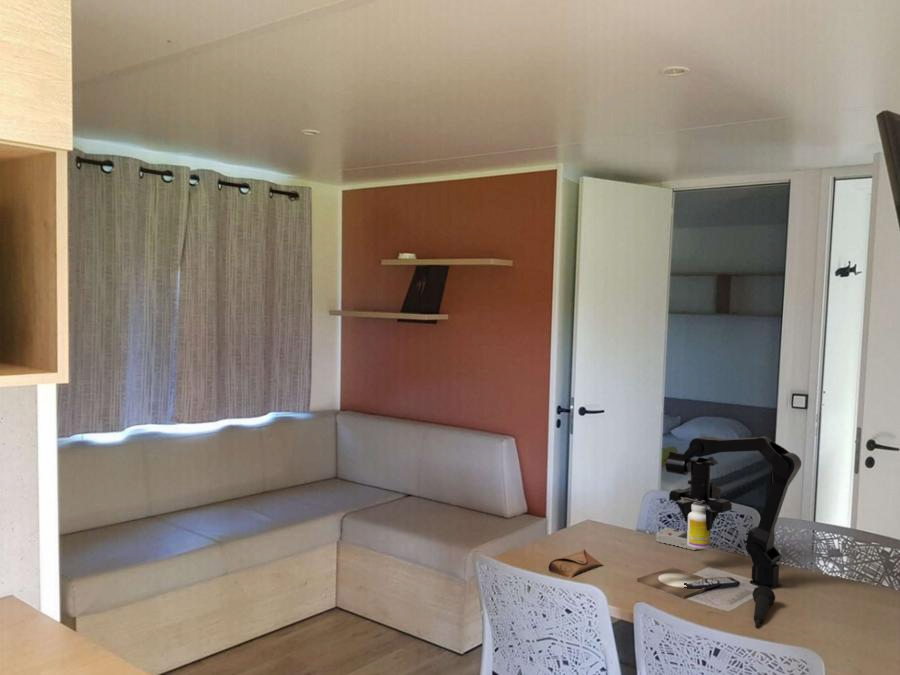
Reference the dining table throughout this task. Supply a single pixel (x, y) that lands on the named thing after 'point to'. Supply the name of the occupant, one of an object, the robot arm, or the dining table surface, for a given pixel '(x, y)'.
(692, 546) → the supplement bottle
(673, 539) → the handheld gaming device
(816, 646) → the dining table surface
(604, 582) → the dining table surface
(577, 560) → the sunglasses case
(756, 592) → the microphone
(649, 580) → the brown flat square board
